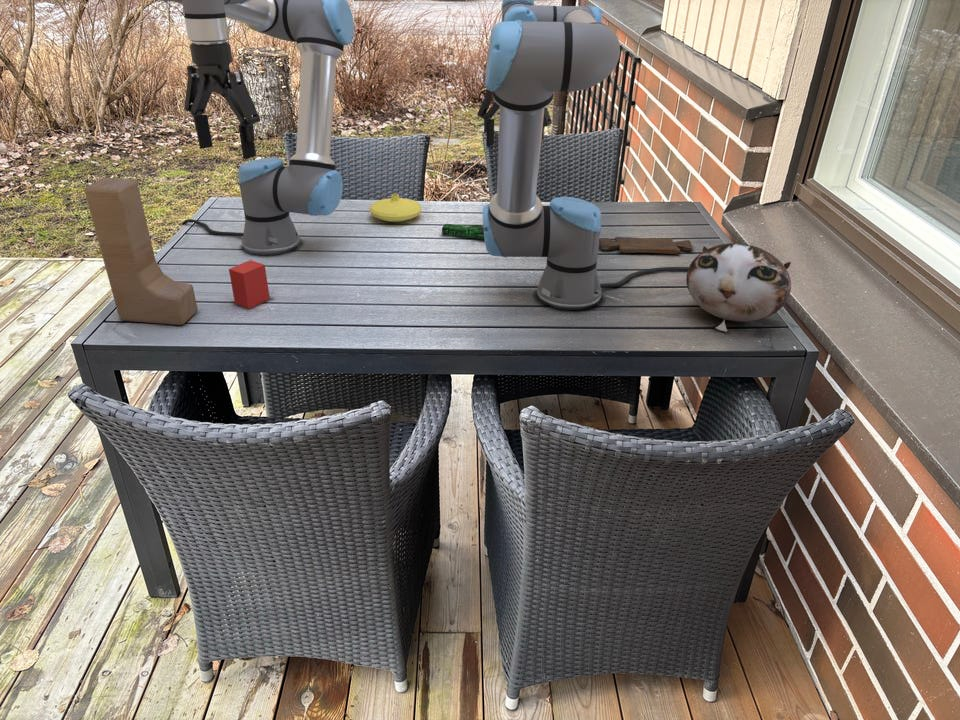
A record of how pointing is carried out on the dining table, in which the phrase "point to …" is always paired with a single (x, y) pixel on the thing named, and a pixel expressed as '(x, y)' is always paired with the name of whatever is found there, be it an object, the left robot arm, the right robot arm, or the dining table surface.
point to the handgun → (464, 231)
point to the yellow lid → (395, 209)
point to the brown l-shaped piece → (134, 257)
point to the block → (249, 284)
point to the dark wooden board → (645, 245)
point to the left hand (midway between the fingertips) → (227, 152)
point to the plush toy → (738, 282)
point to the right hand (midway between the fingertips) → (512, 149)
